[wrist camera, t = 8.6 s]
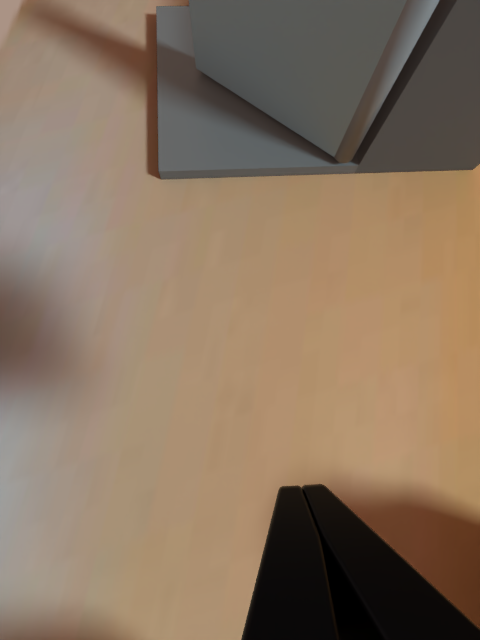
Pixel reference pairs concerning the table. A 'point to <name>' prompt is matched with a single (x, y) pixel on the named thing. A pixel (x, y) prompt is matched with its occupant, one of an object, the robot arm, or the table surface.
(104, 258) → the table surface
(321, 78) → the side door
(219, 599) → the table surface
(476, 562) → the table surface
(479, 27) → the grey box with dial
